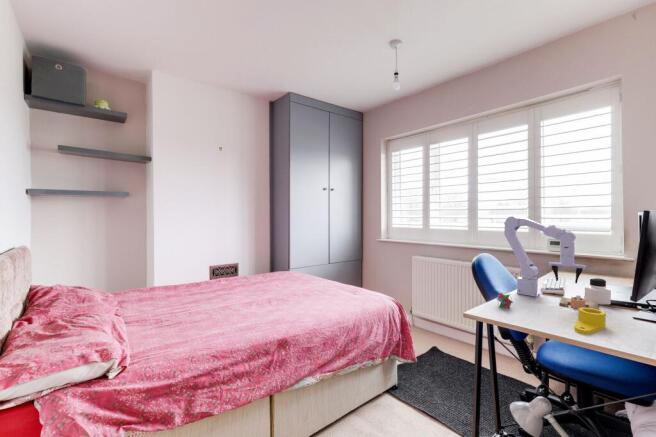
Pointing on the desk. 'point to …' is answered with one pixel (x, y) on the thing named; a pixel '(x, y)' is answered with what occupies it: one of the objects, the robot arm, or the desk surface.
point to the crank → (590, 320)
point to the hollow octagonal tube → (577, 303)
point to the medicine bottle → (598, 292)
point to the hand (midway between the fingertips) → (566, 281)
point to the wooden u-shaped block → (568, 301)
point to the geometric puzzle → (504, 300)
